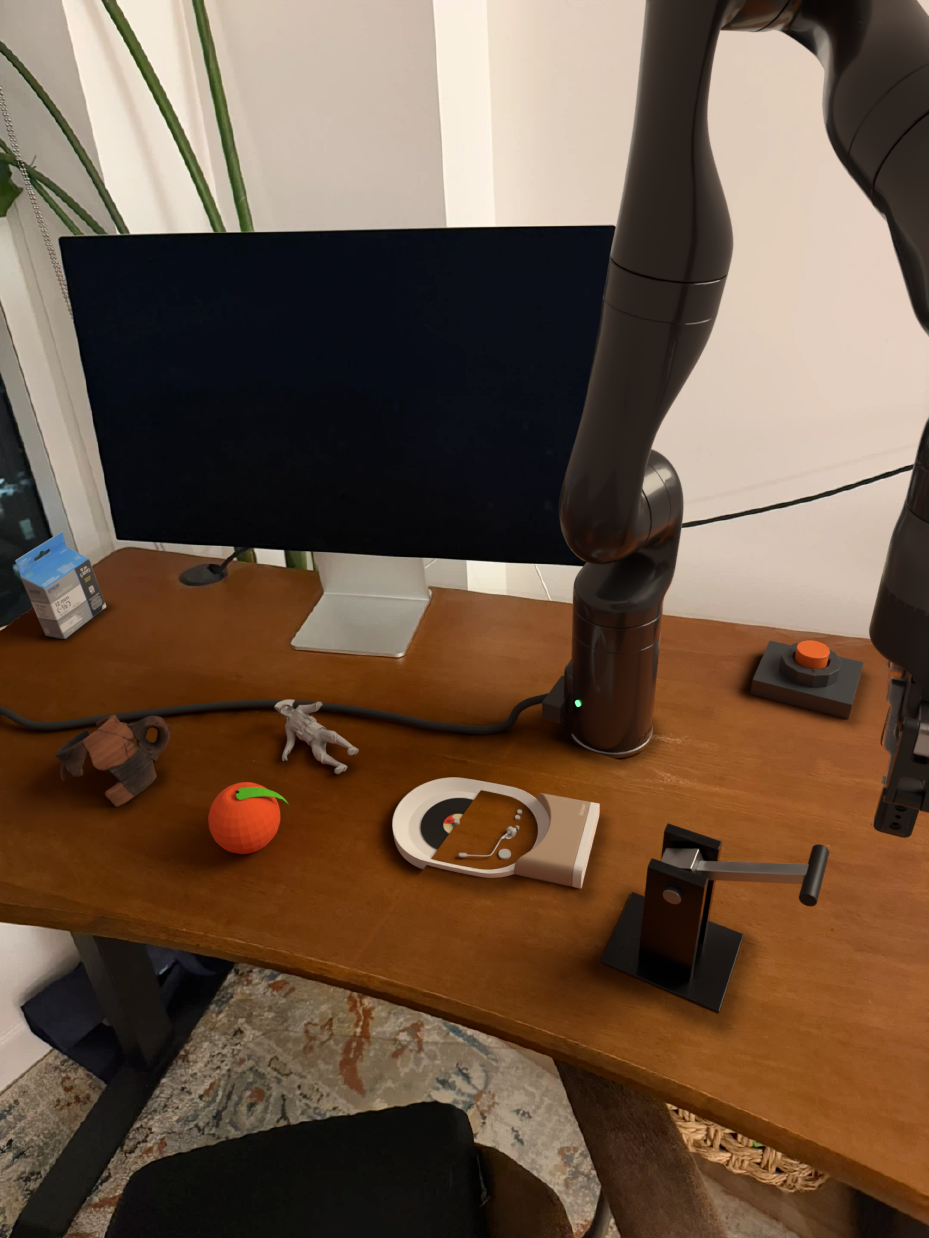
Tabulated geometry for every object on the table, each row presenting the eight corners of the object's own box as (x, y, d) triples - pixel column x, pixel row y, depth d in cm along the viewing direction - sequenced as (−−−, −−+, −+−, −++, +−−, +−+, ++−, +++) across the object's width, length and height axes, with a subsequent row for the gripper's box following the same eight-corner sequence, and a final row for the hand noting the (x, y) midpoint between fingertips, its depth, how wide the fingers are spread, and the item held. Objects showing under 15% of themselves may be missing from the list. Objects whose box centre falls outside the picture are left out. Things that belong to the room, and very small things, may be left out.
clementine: (297, 810, 89) (286, 760, 85) (295, 861, 83) (283, 810, 79) (219, 821, 88) (205, 771, 84) (212, 873, 82) (196, 822, 79)
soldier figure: (320, 796, 92) (244, 731, 96) (340, 794, 97) (266, 732, 100) (360, 737, 92) (282, 674, 96) (378, 738, 96) (303, 678, 100)
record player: (578, 882, 75) (372, 839, 81) (578, 905, 77) (376, 861, 83) (601, 791, 85) (415, 758, 90) (601, 813, 86) (417, 780, 92)
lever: (833, 862, 62) (824, 837, 61) (821, 913, 58) (811, 887, 58) (681, 858, 69) (671, 835, 69) (662, 903, 66) (651, 880, 65)
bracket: (742, 942, 73) (763, 840, 66) (717, 1020, 67) (738, 917, 60) (631, 899, 77) (640, 799, 70) (599, 969, 72) (605, 867, 65)
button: (791, 665, 100) (794, 653, 99) (797, 649, 102) (800, 637, 101) (824, 673, 98) (826, 661, 97) (829, 656, 101) (832, 644, 100)
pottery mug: (92, 828, 89) (44, 766, 87) (94, 806, 98) (49, 749, 95) (193, 759, 92) (148, 698, 90) (185, 743, 101) (144, 687, 99)
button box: (750, 694, 101) (754, 667, 99) (767, 654, 108) (771, 628, 105) (848, 719, 96) (855, 692, 94) (860, 676, 103) (866, 649, 101)
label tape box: (65, 640, 119) (36, 564, 112) (42, 636, 120) (12, 560, 113) (108, 608, 125) (83, 534, 119) (86, 604, 127) (60, 530, 120)
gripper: (888, 519, 56) (843, 712, 64) (876, 632, 45) (823, 846, 54) (1020, 536, 53) (954, 736, 61) (1041, 661, 42) (957, 881, 51)
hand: (893, 787), depth 57 cm, fingers open, 8 cm apart
